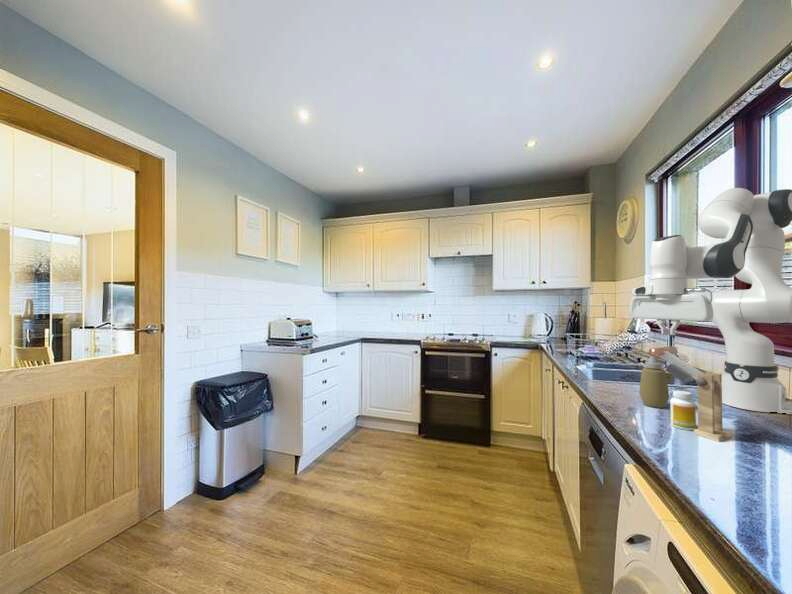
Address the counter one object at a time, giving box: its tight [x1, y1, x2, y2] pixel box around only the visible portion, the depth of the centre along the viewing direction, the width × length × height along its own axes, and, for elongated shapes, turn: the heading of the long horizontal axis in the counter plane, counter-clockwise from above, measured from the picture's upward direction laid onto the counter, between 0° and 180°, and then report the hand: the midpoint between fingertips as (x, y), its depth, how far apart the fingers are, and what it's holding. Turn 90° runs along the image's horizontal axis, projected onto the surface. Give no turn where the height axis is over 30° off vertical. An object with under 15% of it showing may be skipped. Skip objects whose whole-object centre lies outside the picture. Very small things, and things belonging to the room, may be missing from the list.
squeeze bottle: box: [638, 355, 670, 409], centre depth 112 cm, size 8×8×18 cm
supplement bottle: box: [669, 390, 697, 431], centre depth 93 cm, size 5×5×10 cm
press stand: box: [693, 371, 733, 442], centre depth 87 cm, size 7×5×16 cm
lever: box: [648, 346, 716, 383], centre depth 94 cm, size 10×15×4 cm
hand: (668, 334), depth 100 cm, fingers closed
